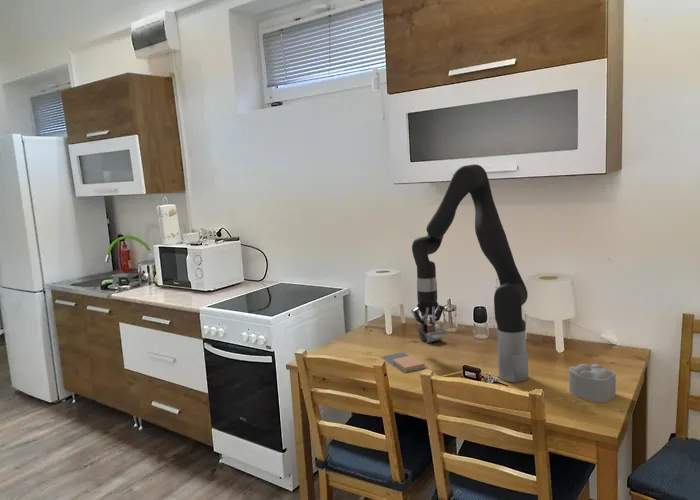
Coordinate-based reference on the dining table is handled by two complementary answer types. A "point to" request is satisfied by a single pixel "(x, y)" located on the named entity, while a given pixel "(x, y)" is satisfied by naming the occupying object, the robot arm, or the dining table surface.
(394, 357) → the mat
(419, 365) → the tile
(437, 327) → the ceramic mug
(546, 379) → the dining table surface
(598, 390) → the lumpy-topped squat cylinder
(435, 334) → the turner
